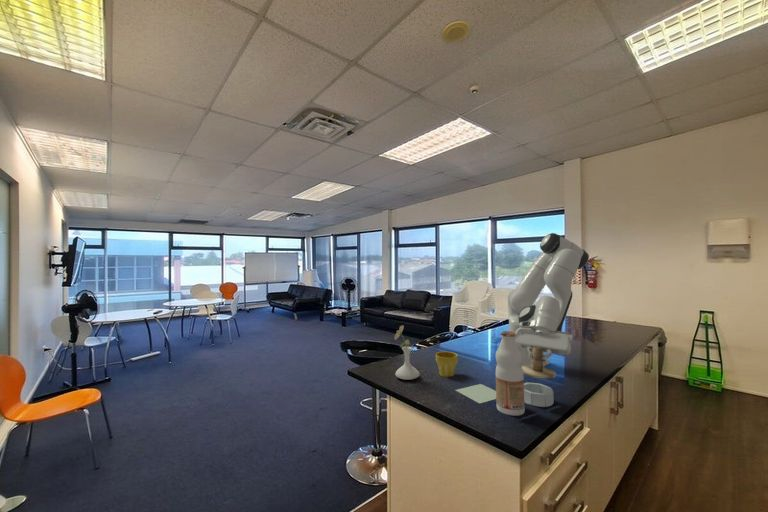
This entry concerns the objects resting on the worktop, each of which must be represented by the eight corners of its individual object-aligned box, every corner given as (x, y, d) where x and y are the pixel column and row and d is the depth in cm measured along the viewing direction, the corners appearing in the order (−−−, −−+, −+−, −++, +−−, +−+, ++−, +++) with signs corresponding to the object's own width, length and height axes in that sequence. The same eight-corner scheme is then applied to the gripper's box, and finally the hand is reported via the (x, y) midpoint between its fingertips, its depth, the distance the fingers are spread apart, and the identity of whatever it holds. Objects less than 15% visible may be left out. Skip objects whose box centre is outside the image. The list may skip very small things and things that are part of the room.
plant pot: (458, 379, 140) (458, 358, 140) (435, 378, 142) (435, 357, 142) (457, 371, 150) (457, 351, 150) (436, 370, 152) (435, 351, 152)
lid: (534, 366, 124) (533, 342, 124) (563, 375, 113) (562, 349, 114) (513, 370, 119) (513, 346, 119) (542, 380, 108) (541, 353, 108)
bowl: (533, 393, 124) (533, 380, 124) (559, 404, 114) (559, 390, 114) (514, 399, 119) (513, 386, 119) (539, 410, 109) (539, 396, 109)
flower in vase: (406, 371, 151) (405, 321, 152) (424, 377, 143) (423, 323, 144) (387, 378, 142) (387, 324, 143) (406, 385, 134) (405, 328, 135)
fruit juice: (492, 411, 109) (490, 332, 110) (501, 402, 116) (499, 328, 117) (520, 420, 103) (517, 336, 104) (528, 409, 110) (525, 331, 111)
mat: (480, 385, 133) (480, 383, 133) (506, 397, 120) (506, 395, 120) (455, 391, 127) (455, 390, 127) (479, 405, 114) (479, 403, 114)
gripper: (574, 338, 118) (570, 369, 111) (519, 330, 132) (512, 358, 124) (572, 328, 115) (567, 360, 107) (516, 321, 129) (508, 350, 121)
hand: (537, 359), depth 116 cm, fingers closed on lid, 3 cm apart
